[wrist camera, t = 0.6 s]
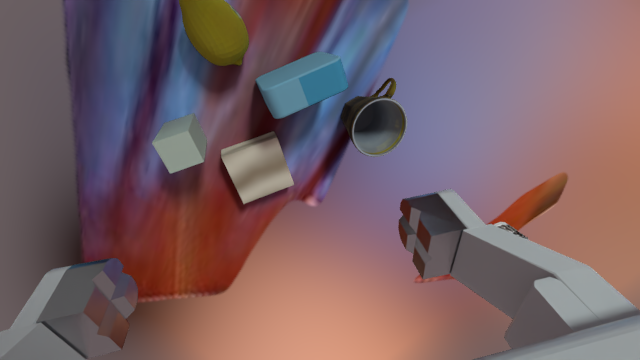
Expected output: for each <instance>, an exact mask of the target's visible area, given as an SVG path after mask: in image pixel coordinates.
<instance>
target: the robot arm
mask: <svg viewBox="0 0 640 360" xmlns="http://www.w3.org/2000/svg"><path fill="white" fill-rule="evenodd" d="M400 210H401V211H402V213H403V216H402V217H401V218H400V219H399V234H400V238H401V241H402V243H403V245H404V247H405V249H406V250H408V251H409V252H411V253H413V263H414V265H415V266H416V268H417V270H418V272H419V273H420V275H421V277H422V279H427V278H432V277H437V276H441V275H446V274H451V276H452V277H454V278H455V279H457V280H458V281H459V282H461V283H462V284H464V285H465V286H467V287H468V288H469V289H471V290H472V291H474V292H475V293H477V294H478V295H479V296H481V297H482V298H484V299H485V300H486V301H488V302H489V303H491V304H492V305H494V306H495V307H496V308H498V309H499V310H501V311H502V312H504V313H505V314H506V315H508V316H509V317H511V318H512V319H513V320H512V322H511V324H510V325H509V327H508V329H507V331H506V333H505V337H504V338H505V340H506V341H507V342H508V344H509V345H510V347H511V348H512V349H510V350H506V351H503V352H499V353H495V354H491V355H488V356H484V357H481V358H477V359H473V360H640V311H639V310H638V309H637V308H636V307H635V306H634V305H632V303H630V302H629V301H628V300H627V299H626V298H625V297H624V296H622V295H621V294H620V293H619V292H618V291H617V290H616V289H615V288H613V287H612V286H611V285H610V284H609V283H608V282H607V281H606V280H604V279H603V278H602V277H601V276H600V275H599V274H598V273H596V272H595V271H594V270H593V269H592V268H591V267H589V266H588V265H585V264H583V263H581V262H578V261H576V260H574V259H571V258H569V257H567V256H564V255H562V254H559V253H557V252H555V251H553V250H550V249H548V248H546V247H543V246H541V245H539V244H536V243H534V242H532V241H529V240H527V239H525V238H522V237H520V236H518V235H515V234H513V233H511V232H508V231H506V230H504V229H501V228H499V227H497V226H494V225H492V224H489V225H486V224H485V223H484V222H483V221H482V220H481V219H480V218H479V217H478V216H477V215H476V214H475V213H474V212H473V211H472V210H471V208H470V207H469V206H468V205H467V204H466V203H465V202H464V201H463V200H462V199H461V198H460V197H459V196H458V194H457V193H456V192H455V191H454V190H451V189H448V190H443V191H439V192H434V193H430V194H425V195H420V196H416V197H411V198H407V199H403V200H402V202H401V205H400ZM123 267H124V266H123V265H122V263H121V262H120V261H119V260H118V259H117V258H110V259H104V260H98V261H93V262H87V263H82V264H76V265H72V266H67V267H62V268H56V269H52V270H51V271H49V272H47V273H46V274H45V275H44V277H43V279H42V280H41V282H40V283H39V285H38V286H37V288H36V289H35V291H34V292H33V294H32V295H31V297H30V298H29V300H28V302H27V303H26V305H25V306H24V308H23V309H22V311H21V312H20V314H19V315H18V317H17V318H16V320H15V321H14V323H13V325H12V326H11V328H10V329H9V330H4V331H2V332H0V360H86V359H88V358H92V357H96V356H100V355H103V354H108V353H111V352H115V351H119V350H122V348H123V345H124V342H125V339H126V336H127V332H128V329H129V326H130V324H129V323H128V321H127V319H126V318H127V317H128V316H129V315H130V314H131V313H132V312H133V311H134V310H135V307H136V304H137V300H138V288H137V285H136V283H135V281H134V279H133V278H132V276H130V275H127V274H125V273H122V269H123Z"/></svg>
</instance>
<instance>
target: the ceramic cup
mask: <svg viewBox="0 0 640 360" xmlns="http://www.w3.org/2000/svg"><path fill="white" fill-rule="evenodd" d="M390 81H391V85H390V87H389V89H388V91H387V92H386V94H385V95H383V96H380V97H378V95H379V93H380V92H381V91H382V90H383V89H384V88H385V87H386V86H387V84H388V83H389V82H390ZM395 89H396V82H395V80H394V79H393V78H389V79H388V80H387V81H385V83H384V84H383V85H382V86H381V88H380V89H379V90H377V91H376V93H375V94H374V95H372V96H370V97H361V96H357V97H355V98H353V99H352V100H350V101H349V102H347V103H345V106H344V109H343V112H342V115H341V119H342V121H343V123H344V125H345V127H346V129H347V131H348V133H349V136H350V138H351V140H352V142H353V144H354V145H355V147H356V148H357V149H358V150H359V151H360V152H361V153H362V154H364V155H367V156H371V157H378V156H382V155H385V154H387V153H389V152H391V151H392V150H393V149H395V148H396V147H397V146H398V144H399V143H400V142H401V141H402V139H403V137H404V135H405V132H406V128H407V117H406V113H405V110H404V109H403V107H402V106H401V105H400V104H399V103H398V102H397V101H395V100H393V99H391V97H392V96H393V94H394V92H395Z"/></svg>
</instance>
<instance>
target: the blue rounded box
mask: <svg viewBox="0 0 640 360" xmlns="http://www.w3.org/2000/svg"><path fill="white" fill-rule="evenodd" d="M256 83H257V85H258V87H259V90H260V92H261V94H262V96H263V98H264V101H265V103H266V105H267V107H268V108H269V110H270V112H271V114H272V116H273V117H274V118H275V119H280V118H284V117H286V116H289V115H291V114H293V113H295V112H298V111H300V110H302V109H304V108H307V107H309V106H311V105H313V104H316V103H318V102H320V101H322V100H325V99H327V98H329V97H331V96H334V95H336V94H338V93H340V92H343V91H344V90H346V89H347V88H348V83H347V79H346V76H345V72H344V69H343V66H342V62H341V59H340V57H339V56H336V55H332V54H328V53H324V52H316V53H313V54H311V55H308V56H306V57H304V58H301V59H299V60H297V61H294V62H292V63H290V64H287V65H285V66H283V67H280V68H278V69H276V70H273V71H271V72H269V73H266V74H264V75H262V76H260V77H258V78H257V79H256Z"/></svg>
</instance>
